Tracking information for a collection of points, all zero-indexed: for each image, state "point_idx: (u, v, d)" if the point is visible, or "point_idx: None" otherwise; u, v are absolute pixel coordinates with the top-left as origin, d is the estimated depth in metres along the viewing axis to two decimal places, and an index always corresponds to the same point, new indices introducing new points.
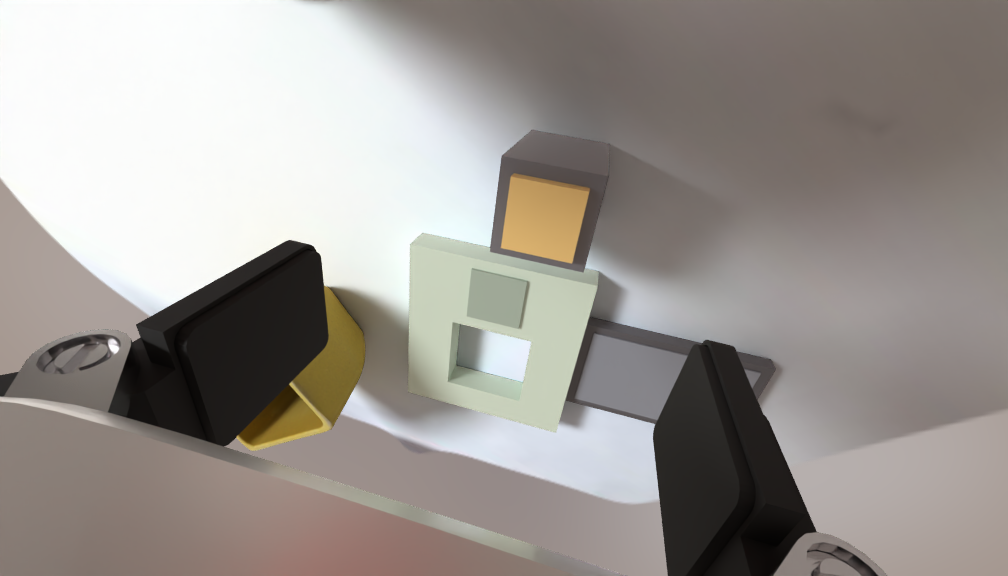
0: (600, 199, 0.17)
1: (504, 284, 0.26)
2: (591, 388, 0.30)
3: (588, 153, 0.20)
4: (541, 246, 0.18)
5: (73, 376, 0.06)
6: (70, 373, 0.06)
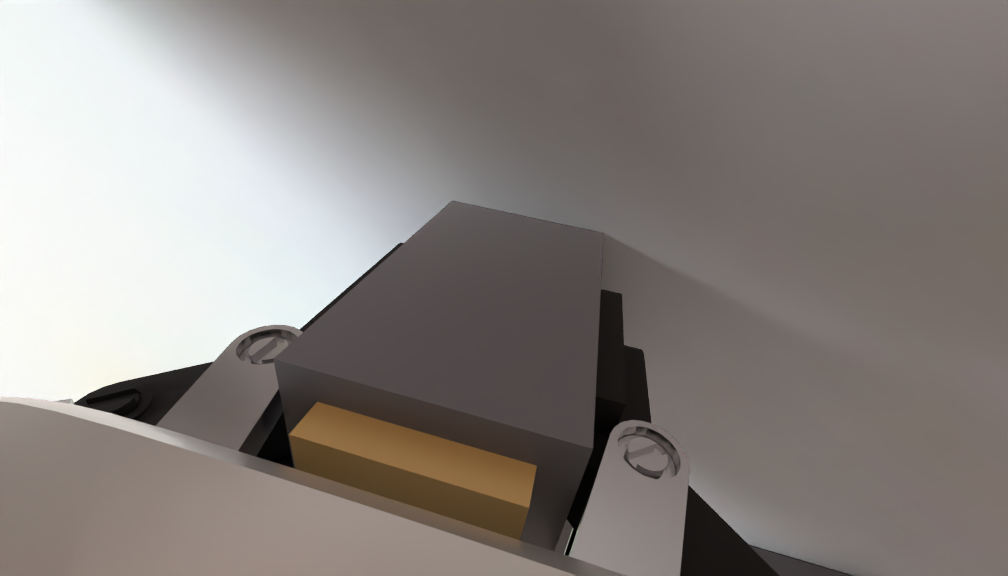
0: (569, 493, 0.06)
1: None
2: None
3: (551, 287, 0.08)
4: None
5: (254, 367, 0.07)
6: (254, 363, 0.07)
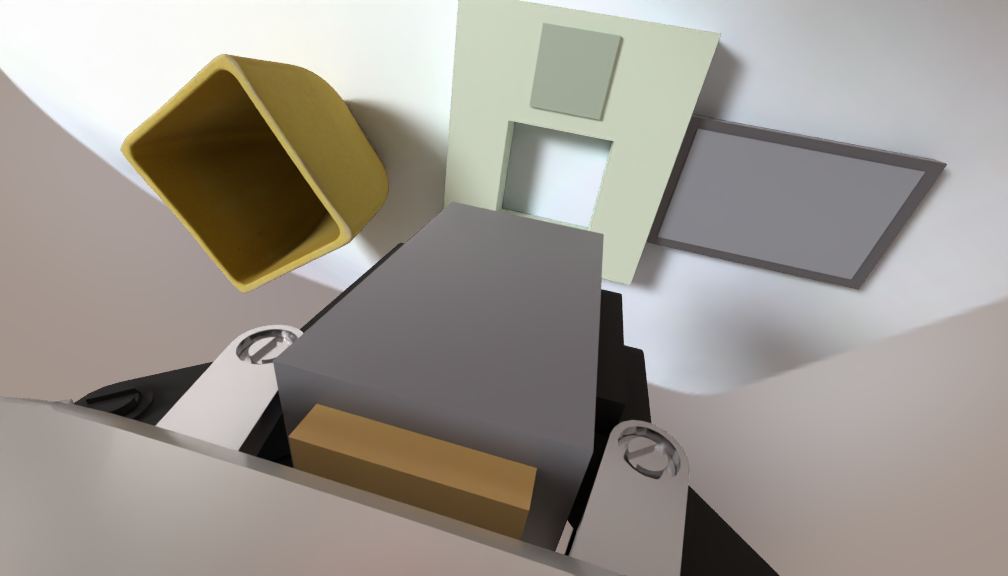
0: (569, 496, 0.06)
1: (587, 43, 0.19)
2: (683, 218, 0.23)
3: (551, 288, 0.08)
4: None
5: (254, 367, 0.07)
6: (254, 363, 0.07)
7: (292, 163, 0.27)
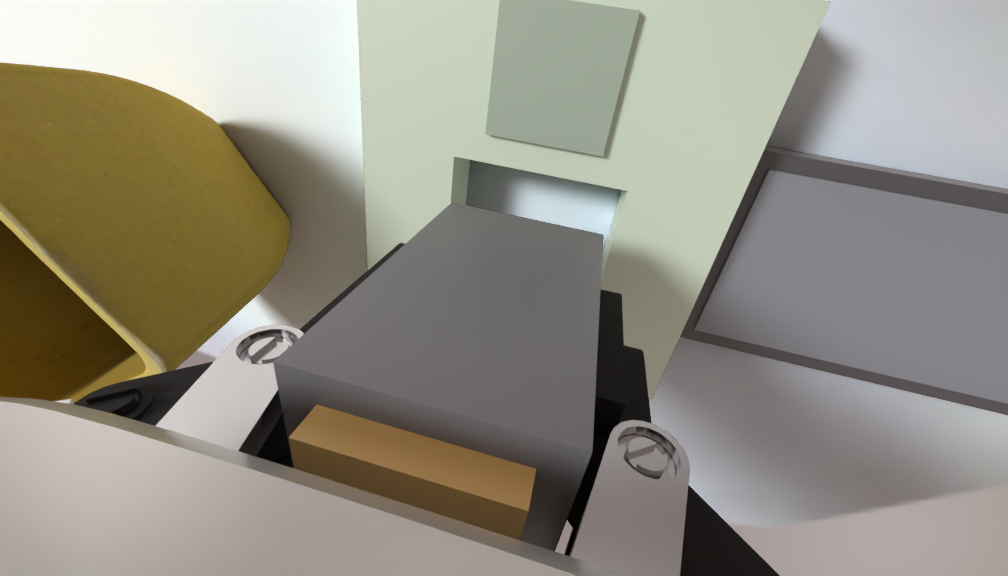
0: (568, 496, 0.06)
1: (580, 26, 0.11)
2: (736, 306, 0.15)
3: (551, 289, 0.08)
4: None
5: (254, 367, 0.07)
6: (254, 363, 0.07)
7: None
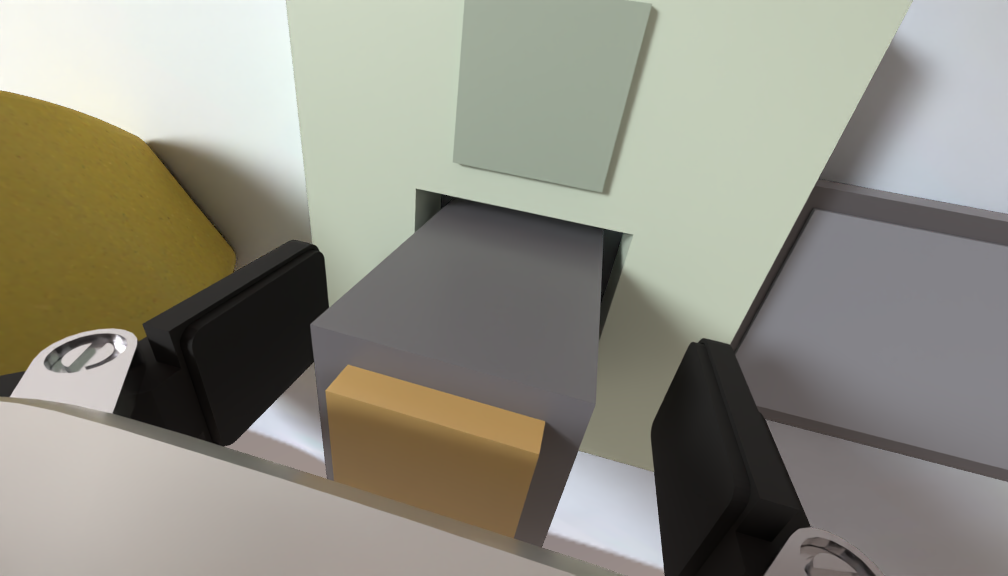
0: (573, 447, 0.06)
1: (572, 25, 0.08)
2: (766, 369, 0.12)
3: (556, 270, 0.09)
4: None
5: (79, 375, 0.06)
6: (77, 372, 0.06)
7: None
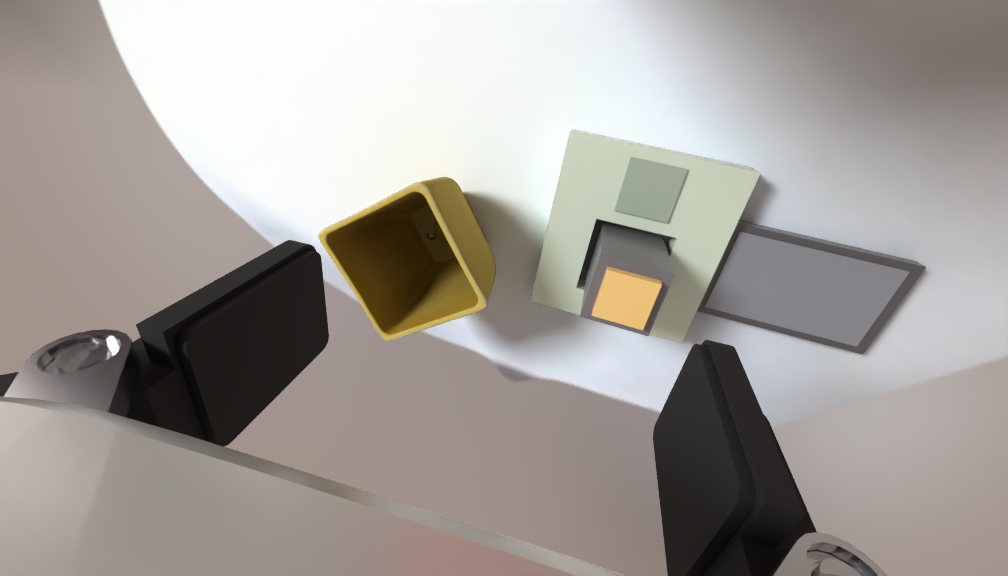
0: (667, 288, 0.24)
1: (662, 172, 0.26)
2: (725, 294, 0.30)
3: (652, 248, 0.27)
4: (622, 317, 0.25)
5: (73, 376, 0.06)
6: (70, 373, 0.06)
7: (412, 236, 0.34)
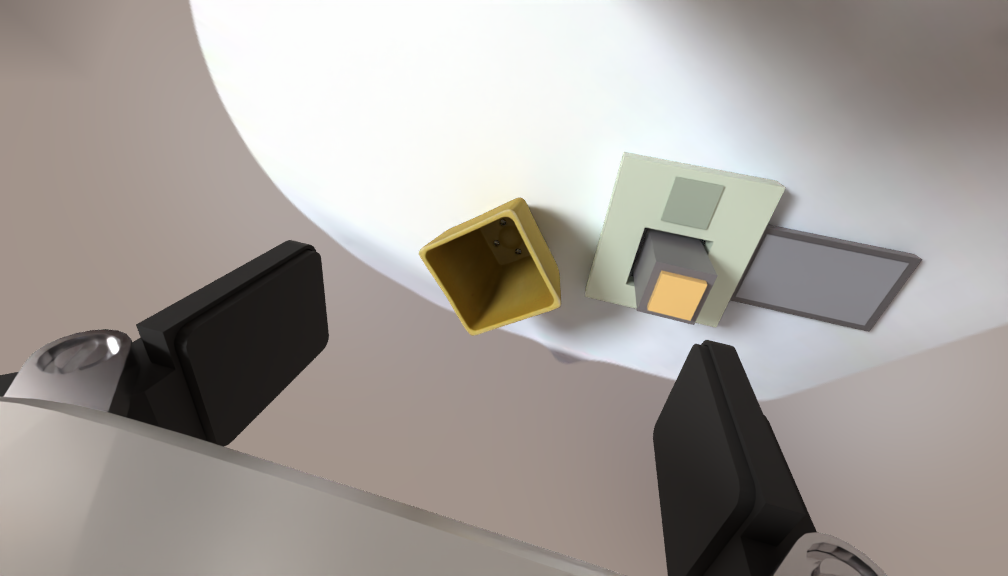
0: (710, 287, 0.30)
1: (703, 189, 0.32)
2: (753, 286, 0.36)
3: (694, 251, 0.33)
4: (673, 310, 0.31)
5: (73, 376, 0.06)
6: (70, 373, 0.06)
7: (481, 244, 0.40)
